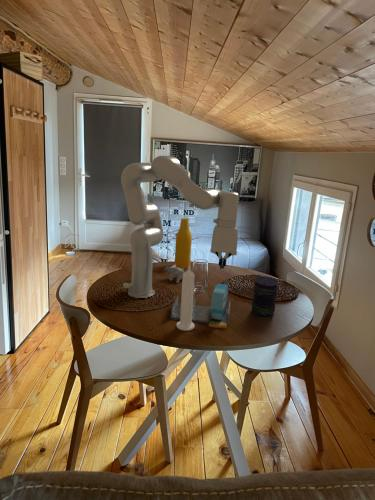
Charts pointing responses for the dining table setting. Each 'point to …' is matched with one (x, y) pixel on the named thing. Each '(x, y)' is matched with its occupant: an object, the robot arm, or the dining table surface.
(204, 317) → the rack
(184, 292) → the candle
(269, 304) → the storage jar
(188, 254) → the beer bottle
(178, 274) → the gray elephant figurine
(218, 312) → the data package
